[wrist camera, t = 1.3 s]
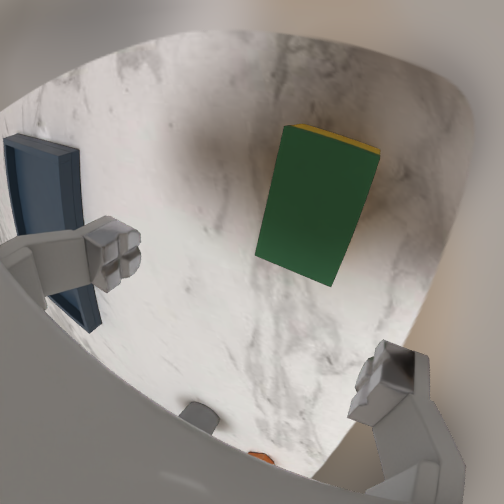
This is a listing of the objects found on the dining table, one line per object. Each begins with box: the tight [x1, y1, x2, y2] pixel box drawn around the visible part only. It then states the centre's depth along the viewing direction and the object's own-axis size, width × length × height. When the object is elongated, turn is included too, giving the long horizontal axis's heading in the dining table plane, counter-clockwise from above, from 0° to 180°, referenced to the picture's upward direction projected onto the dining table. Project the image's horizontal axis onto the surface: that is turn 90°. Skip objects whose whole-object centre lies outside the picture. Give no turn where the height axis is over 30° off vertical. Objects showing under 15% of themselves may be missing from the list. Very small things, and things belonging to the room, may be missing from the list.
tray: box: [3, 134, 102, 334], centre depth 31 cm, size 24×18×2 cm
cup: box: [178, 402, 219, 435], centre depth 30 cm, size 7×7×12 cm
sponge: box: [255, 124, 380, 287], centre depth 15 cm, size 7×4×3 cm, turn 169°
